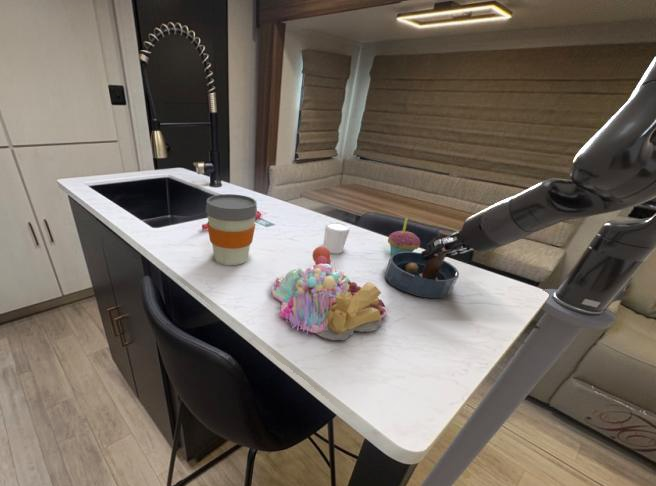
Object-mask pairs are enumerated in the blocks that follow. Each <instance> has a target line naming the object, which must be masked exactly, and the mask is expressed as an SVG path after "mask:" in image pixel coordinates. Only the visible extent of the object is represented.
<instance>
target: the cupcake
mask: <svg viewBox="0 0 656 486" xmlns="http://www.w3.org/2000/svg"><path fill="white" fill-rule="evenodd" d="M408 220H409V218H408V215H406V216H405V218H404V222H403V227H402V230H397V231H394V232H392V233H390V234H389V236H388V239H387V243H388V244H389V247H390V254H389V255H391V256H392V255H393V254H395V253H398V252H415V250H418V249H419V247H420V245H421V240H420V238H419V237H418V235H416V233H414V232H412V231H407V230H406V229H407V224H408Z"/></svg>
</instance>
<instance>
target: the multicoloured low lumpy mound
mask: <svg viewBox="0 0 656 486" xmlns="http://www.w3.org/2000/svg"><path fill="white" fill-rule="evenodd" d="M311 255H312V260H313V261H314V262H315V263H314V265H313V266H312V267H309V268H306V270H305V271H304V270H303V269H302V268H301V267H297V268H295V269H291V270H290V271H288V272H287V273H286V275H285V276H284V277H282V278H280V279H279V278H278V277H276V279H275V281H274V282H275V283H274V285H272V288H271V293H272V294H271V295H272V296H273V297H274V298H275V299H276V300H278V301H279V302H280V303H281V305H280V313H279V316H280V317H281V318H283V319H285V320H286V321H285V322H286V323H288V320H289V323H290V325H291V328H292V330H293V329H294V328H296V327H297V329H296V331H297V332H298V331H299V330H302V332H304V333H305V331H306V335H308V334H309V333H313V334H317V335H318V336H319V337H321V338H324V339H328V340H332V341H338V340H339V341H345V340H348V339H349V336H352V335H353V334H354V331H357V332H361V333H362V332H373V331H376V330H378V329H379V326H381V325H382V322H383V318H384V317H386V316H387V315H388V310H387V309H385V308H386V305H385V303H384V301H383V300H382V299H380V298H379V296H380V295H381V294H382V291H381V290H380V289H379V288H378V287H377V286H376V285H375V284H374V283H372V282H370V281H367V282H366V283H365V284H363V286H360V285H358V284H357V283H356V282H353V281H352V282H351V280H350V278H349V277H348V276H347V274H345V272H342V271H340V270H336V269H335V268H334V269H333V267H332V266H331V263H332V259H331V253H330V251H329V250H328V248H326V247H324V246H323V245H321V246H318V247H315V249H313V252H312V254H311ZM299 328H300V329H299Z"/></svg>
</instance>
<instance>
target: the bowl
mask: <svg viewBox="0 0 656 486" xmlns="http://www.w3.org/2000/svg"><path fill="white" fill-rule="evenodd" d="M427 261H428V260H427ZM427 261H423V260H422V256H421V252H416V251H412V252H398V253H395V254H393V255H391V256H390V257H389V260H388V263H387V266H386V269H385V271H384V277H385V279H386V280H387V281H388V283H389V284H390V285H392V286H393V287H395V288H396V289H397V290H398V289H399V290H401V291H403V292H405V293H407V294H410V295H413V296H417V297H421V298H427V299H440V298H445V297H447V296H450V294H451V293H452V292H453V290H454V287H455V285H456V284H457V281H458V279H459V277H460V272H459V271H458V269H457V267H455V266H454V265H453V264H451V263H450V262H448V261H447V260H444V261H443V263H442V265H441V268H440V270H439V272H438V274H437V278H438V280H433V279H426V278H422V277H419V275H420V274H421V273H423V271H424V269H425V266H426V264H427ZM408 263H416V264H417V265H418V271H417V272H416V273H415V274H410V273H408V272H406V271H405V267H406V265H407V264H408Z"/></svg>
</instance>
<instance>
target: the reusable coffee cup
mask: <svg viewBox="0 0 656 486" xmlns="http://www.w3.org/2000/svg"><path fill="white" fill-rule="evenodd" d="M257 204H258V203H257V200H256V199H254V198H253V197H251V196H246V195H242V194H235V193H233V194H232V193H225V194H224V193H222V194H216V195H211V196H209V197H208V198H206V206H205V207H206V208H205V214H206V215H207V222H206V223H207V226H208V229H207V230H208V237H209V241H210V243H211V245H212V253H213V258H214V261H216V262H217V263H218V264H222V265H226V266H238V265H242V264H244V263H246V262H247V261H248V258H249V254H250V247H251V245H252V243H253V240H254V235H255V229H256V223H255V220H256V219H255V217H256V215H257V211H258V205H257Z"/></svg>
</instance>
